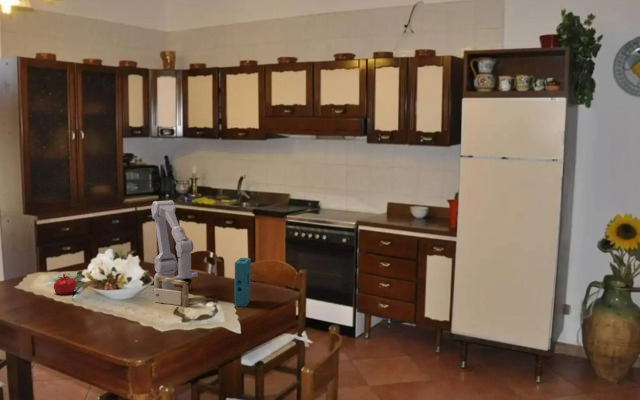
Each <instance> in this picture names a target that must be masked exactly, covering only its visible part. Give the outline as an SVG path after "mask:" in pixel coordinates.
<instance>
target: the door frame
mask: <svg viewBox="0 0 640 400" xmlns="http://www.w3.org/2000/svg"><path fill="white" fill-rule="evenodd" d="M162 281H165V282H169V283H173V284H174V285H177V286H180V285H182V286H183V305H182V307H183V308H187V307H189V288H188V282H185V281H181V280H176V279H172V278H168V277H163V276H156V288H157V289H162Z"/></svg>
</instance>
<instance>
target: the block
mask: <svg viewBox="0 0 640 400" xmlns="http://www.w3.org/2000/svg"><path fill="white" fill-rule="evenodd" d="M251 262H252V261H251V258H250V257H240V258H238V259H237V260H236V261H235V262H234V301H235V302H234V304H235V307H247V306H248V305H249V304H250V301H251V300H250V299H251V280H252V279H251V278H252V277H251V274H252V273H251V272H252V271H251V266H252V265H251V264H252V263H251Z"/></svg>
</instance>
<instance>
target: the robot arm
mask: <svg viewBox="0 0 640 400" xmlns="http://www.w3.org/2000/svg"><path fill="white" fill-rule="evenodd" d="M150 210H151V217H152V219H153V220H154V224H155V231H156V238H157V239H156V240H157V244H158V253H159V254H158V255H157V256H156V257H155V258H154V270H155V272H156V273H155V274H154V276H153V278H154V279H153V282H154V283H153V288H154V289H155V288H156V276H163V277H168V278H172V279H176V280H181V281H185V282H188V289H189V287H190V285H191V283H192V281H193V280H192V278H197V277H198V274H199V273H198V272H196V271H194V272H193V271H192V252H193V250H194V243H193V240H192V239H190V238H189V237H188V236H187V234H186V232H185V229H184V227H183V226H180V223H179V221H178V218H177V216H176V204H175V202H174V201H173V200H172V199H169V200H159V201H157V200H155V201H153V202H152V204H151V207H150ZM167 223H168V224H169V226H170V228H171V233H170V234H171V235H172V237H173V239H174V243H175V250H176V255H177V258H176V255H175V254H174V253H172V252H171V246H170V241H169V234H168V225H167ZM177 260H178V261H177ZM177 271H178V275H176V276H175V273H176V272H177ZM179 286H180V288H182V289H183V286H182V285H179ZM172 288H175V284H173V283H169V282H165V281H162V289H165V290H171V289H172ZM154 289H152V291H154Z"/></svg>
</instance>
